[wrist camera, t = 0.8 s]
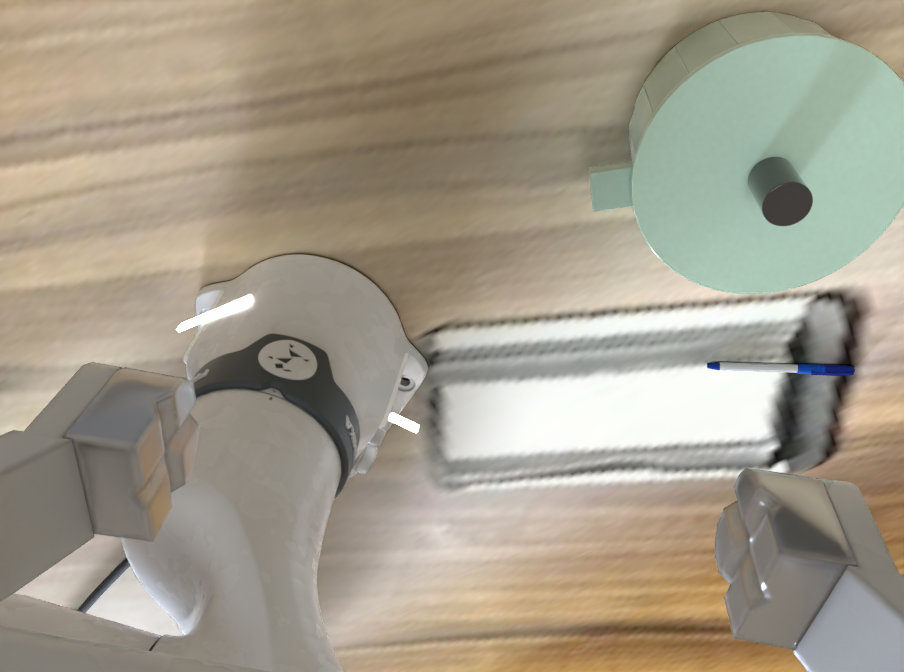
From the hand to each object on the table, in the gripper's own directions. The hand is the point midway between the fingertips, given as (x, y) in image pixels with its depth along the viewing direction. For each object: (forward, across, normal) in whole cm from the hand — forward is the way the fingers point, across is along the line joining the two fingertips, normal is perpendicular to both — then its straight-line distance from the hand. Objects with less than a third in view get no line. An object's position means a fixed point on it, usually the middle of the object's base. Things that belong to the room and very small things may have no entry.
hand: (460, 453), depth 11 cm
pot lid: (+32, +14, -6) cm, 36 cm away
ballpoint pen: (+40, +23, -24) cm, 52 cm away
